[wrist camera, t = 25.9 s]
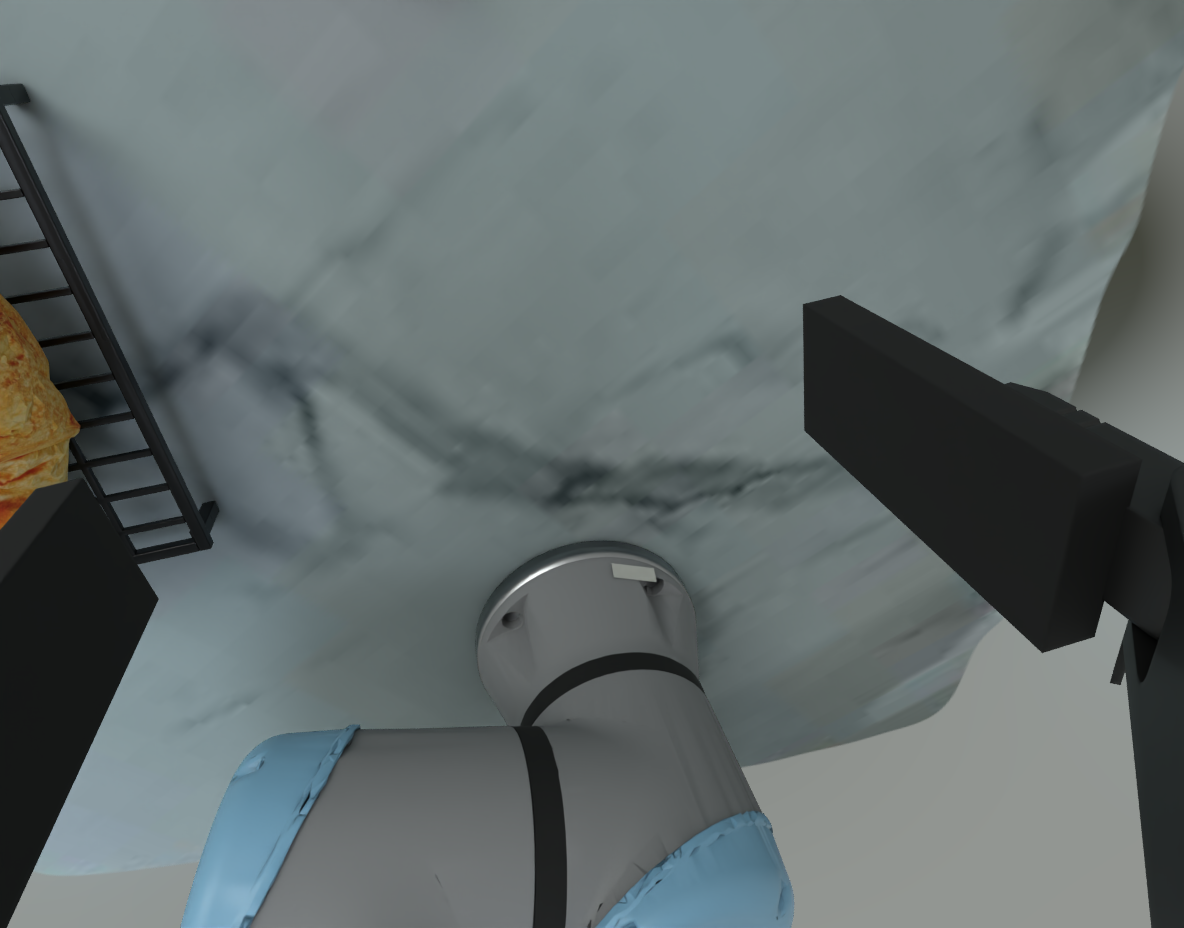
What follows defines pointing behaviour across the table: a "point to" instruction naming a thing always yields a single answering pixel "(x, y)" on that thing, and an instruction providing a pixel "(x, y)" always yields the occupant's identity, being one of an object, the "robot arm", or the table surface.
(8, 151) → the cooling rack
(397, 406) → the table surface
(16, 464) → the croissant
